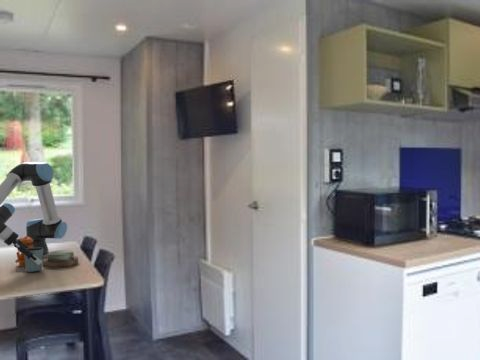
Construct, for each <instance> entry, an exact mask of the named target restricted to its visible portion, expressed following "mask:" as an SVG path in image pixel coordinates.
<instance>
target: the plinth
mask: <svg viewBox="0 0 480 360" xmlns="http://www.w3.org/2000/svg"><path fill="white" fill-rule="evenodd" d="M74 255H75V253H74V251H73V250H69V249H67V250H66V249H65V250H63V249H62V250H53V251H49V252H48V253H46V257H47V258H43V260H42V268H43V267H44V268H47V269H65V268H70V267H74V266H77V265H78V264H79V257H78V256H74Z"/></svg>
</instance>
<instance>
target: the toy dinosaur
mask: <svg viewBox="0 0 480 360" xmlns="http://www.w3.org/2000/svg"><path fill="white" fill-rule="evenodd" d="M29 237H30V236H29ZM29 237H28V236H27V235H25V236H24V237H20V238H18V239H19V240H20V241H21V242H22V243H24V244H25V245H26V246H28V247H29V248H32V247H34V246H33V245H28V244H29V243H32V242H33V240H32V239H31V238H29ZM14 262H15V263H16V264H18V265H19V266H20V267H25V257H24V254H23V253H22V252H21V251H20V250H19V249H17V252H16V260H14Z"/></svg>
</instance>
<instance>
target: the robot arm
mask: <svg viewBox="0 0 480 360" xmlns="http://www.w3.org/2000/svg"><path fill="white" fill-rule="evenodd" d="M54 175H55V171H54V168H53V167H52V165H50V163H48V162H27V161H26V162H22V163H20V164H18V165H16V166H15V167H14V168H12V169H11V170H10V171H8V172H7V174H6V176H5V179H4V180H3V181H2V182H1V183H0V240H1V241H3V243H4V244H6V245H7V246H11V245H12V244H13V246H14V248H16V250H18V249H19V250H20V251H21V252H22V253H23V254H25V255H26V256H27V257H28V259H29V258H30V259H31V260H33V261H34V262H35V263H37V264H38V265H39V264H40V263H41V262H42V263H43V260H42V261H41V260H40V259H39V258H38V257H36V256H35V255H34V254H32V253H31V252H30V251H29V250H27V249H26V248H29V247H28V246H26V245H25V244H24V243H22V242H21V241H20V240H19V239H20V238H19V234H18V233H16V232H15V231H13V229H11V227H9V226H8V225H6V224H5V223H7V221H8V220H9V219H10V218H12V217H13V214H14V213H15V211H16V208H15V207H14V205H13V204H11V203H9V202H6V203H4V201H5V200H6V199H7V198H8V197H9V196H10V194H11V193H12V192H13V191H14V189H15V188H16V187H17V186H20V185H21V184H22V183H23V182H26V181H27V182H29V181H31V182H30V183H31V184H32V186H33V187H34V188H35V190H36V193H37V197H38V200H39V205H40V208H41V211H42V216H43V218H37V219H29V220H28V221H27V222H26V227H25V228H26V229H25V230H26V236H28V237H29V236H30V237H29V238H31V239H32V240H33V242H32V243H29V244H28V245H33V246H34V247H41V248H43V255H47V253H49V252H50V251H49V247H48V244H47V241H46V239H54V240H57V239H59V240H60V239H63V238H64V237H65V235H66V233H67V231H68V230H67V229H68V224H67V222H66V221H64V220H62V217H61V216H60V215H58V211H57V207H56V204H55V199H54V194H53V192H52V191H53V190H52V187H51V183H52V180H53V178H54ZM21 252H20V253H21Z"/></svg>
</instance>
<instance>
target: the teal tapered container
mask: <svg viewBox="0 0 480 360" xmlns="http://www.w3.org/2000/svg"><path fill="white" fill-rule="evenodd" d="M26 249H27V250H29V251H30V252H31V253H32V254H34V255H35V256H36V257H38V258H39V259H40V260H41V261H42V262H41V263H40V264H39V265H38V264H37V263H35V262H34V261H33V260H31V259H30V258H29V259H28V257H27V256H26V255H25V254H24V257H25V266H24V267H25V268H24V269H25V272H28V273H29V272H31V273H32V272H39V271H42V269H43V260H44V258H43V256H44V254H43V248H41V247H32V248H26Z"/></svg>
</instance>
